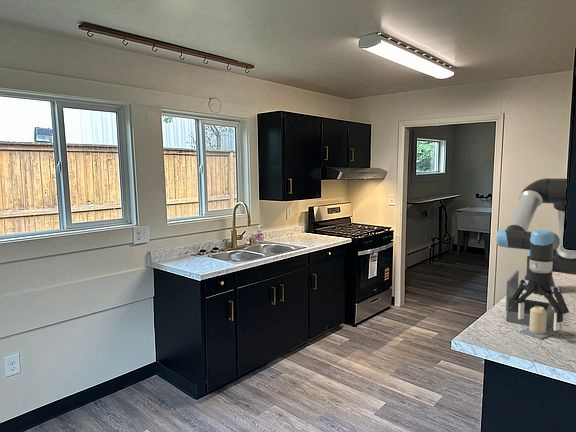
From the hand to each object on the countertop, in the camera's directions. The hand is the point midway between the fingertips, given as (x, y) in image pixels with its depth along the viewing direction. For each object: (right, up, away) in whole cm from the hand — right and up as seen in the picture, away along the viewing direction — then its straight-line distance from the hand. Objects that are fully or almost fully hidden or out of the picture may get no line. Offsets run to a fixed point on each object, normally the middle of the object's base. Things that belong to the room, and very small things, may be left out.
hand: (538, 324), depth 157 cm
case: (+7, -2, +17) cm, 18 cm away
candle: (0, -3, 0) cm, 3 cm away
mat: (0, -4, 0) cm, 4 cm away
